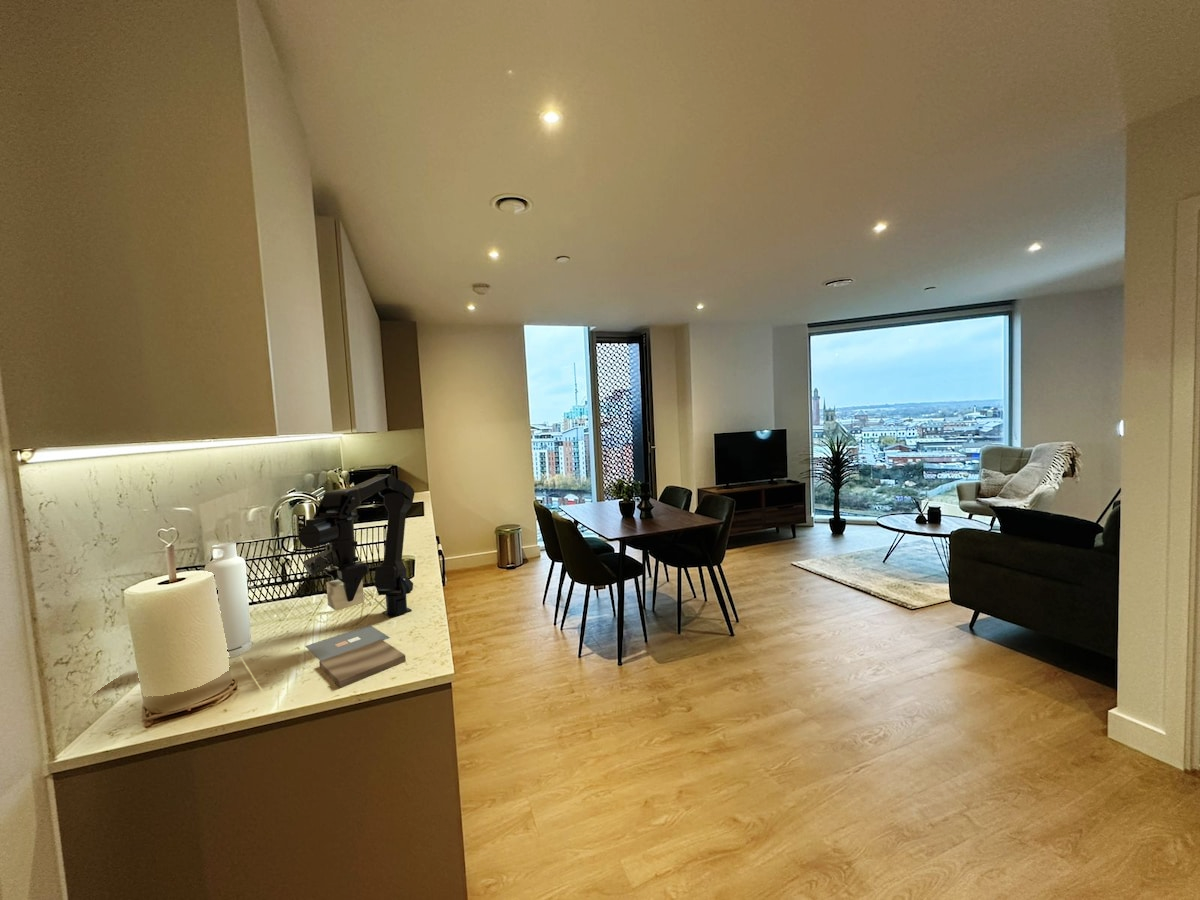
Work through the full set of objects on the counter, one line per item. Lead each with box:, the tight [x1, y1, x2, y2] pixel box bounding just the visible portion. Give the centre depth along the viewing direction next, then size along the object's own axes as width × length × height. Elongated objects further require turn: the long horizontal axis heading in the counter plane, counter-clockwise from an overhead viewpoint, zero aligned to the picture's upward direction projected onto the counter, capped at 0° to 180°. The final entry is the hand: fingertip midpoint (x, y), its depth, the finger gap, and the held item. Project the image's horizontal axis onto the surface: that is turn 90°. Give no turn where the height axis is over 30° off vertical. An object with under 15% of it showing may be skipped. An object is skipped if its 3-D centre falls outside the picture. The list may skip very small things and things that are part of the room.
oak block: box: [325, 579, 365, 611], centre depth 115 cm, size 6×6×6 cm
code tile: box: [304, 624, 391, 661], centre depth 116 cm, size 14×16×1 cm
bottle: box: [204, 542, 253, 659], centre depth 113 cm, size 8×8×28 cm
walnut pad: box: [318, 639, 407, 689], centre depth 104 cm, size 14×14×2 cm
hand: (345, 598), depth 115 cm, fingers closed on oak block, 6 cm apart
